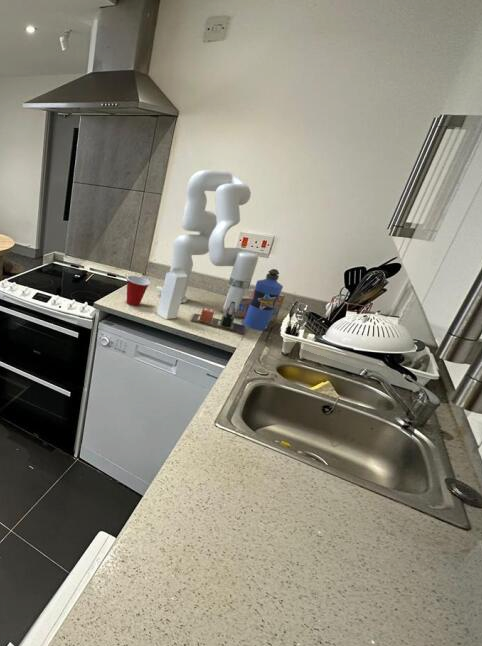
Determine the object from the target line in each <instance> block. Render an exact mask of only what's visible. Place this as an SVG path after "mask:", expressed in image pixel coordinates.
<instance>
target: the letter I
mask: <svg viewBox="0 0 482 646" xmlns="http://www.w3.org/2000/svg"><path fill="white" fill-rule="evenodd" d="M225 315H226V312H223V313H222V315H221V316H222V317H221V318H220V320H221V322H220V325H222V322H223V319H224V316H225ZM232 318H233V319H232V322H231V325H230V328H232V325H233V323H235V322H234V321H235V319H236V317H235V315H234V314H233V317H232Z"/></svg>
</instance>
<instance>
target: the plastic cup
mask: <svg viewBox="0 0 482 646" xmlns="http://www.w3.org/2000/svg"><path fill="white" fill-rule="evenodd" d="M151 284H152V282H151V281H150V280H149V279H147V278H145V277H142V276H139V275H127V276H126V304H128V305H129V306H132V307H133V306H134V307H135V306H136V307H138V306H140V304H141V302H142V299H143V298H144V295H145V293H146V290H147V289H148V287H149V286H150V285H151Z"/></svg>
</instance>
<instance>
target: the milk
mask: <svg viewBox="0 0 482 646" xmlns="http://www.w3.org/2000/svg"><path fill="white" fill-rule="evenodd" d="M183 270H184V267H175V268H173V271H171V272H170V271H169V272H166V274H165V278H164V282H163V286H162V288H163V290H162V292H161V293H162V294H161V293H160V295H161V296H160V298H159V302H158V307H157V311H156V315H158V316H159V317H162V318H163V319H165V320H170V319H177V318H178V314H179V310H180V306H181V304H182V303H181V299H182V295H183V292H184V288H185V284H186V280H187V275H186V274H185V272H184V271H183Z"/></svg>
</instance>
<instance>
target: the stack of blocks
mask: <svg viewBox="0 0 482 646" xmlns="http://www.w3.org/2000/svg"><path fill="white" fill-rule="evenodd" d="M254 291H255V288H249V289H248V293H246V294H244V293H243V296H242V299H241V302H240V304H239V306H238V309H237V311H236V312H235V311H234V315H235V318H244V319H245V316H246V313H247V311H248V308H249V305H250V303H251V301H252V299H253V296H254ZM226 298H227V296H226V297H225V300H224V302H223V306H222V308H221V312H223V313H224V312H226V311H227V310H226V309H225V310H224V309H223V308H224V304H225V301H226ZM284 299H285V295H283V294H282V292H281V293H280V294H279V296H278V298H277V300H276V302H275V306H274V311H273V313H272V316H271V319H270V321H269V322H276V320H277V318H278V315H279V312H280V310H281V308H282V305H283V302H284Z"/></svg>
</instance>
